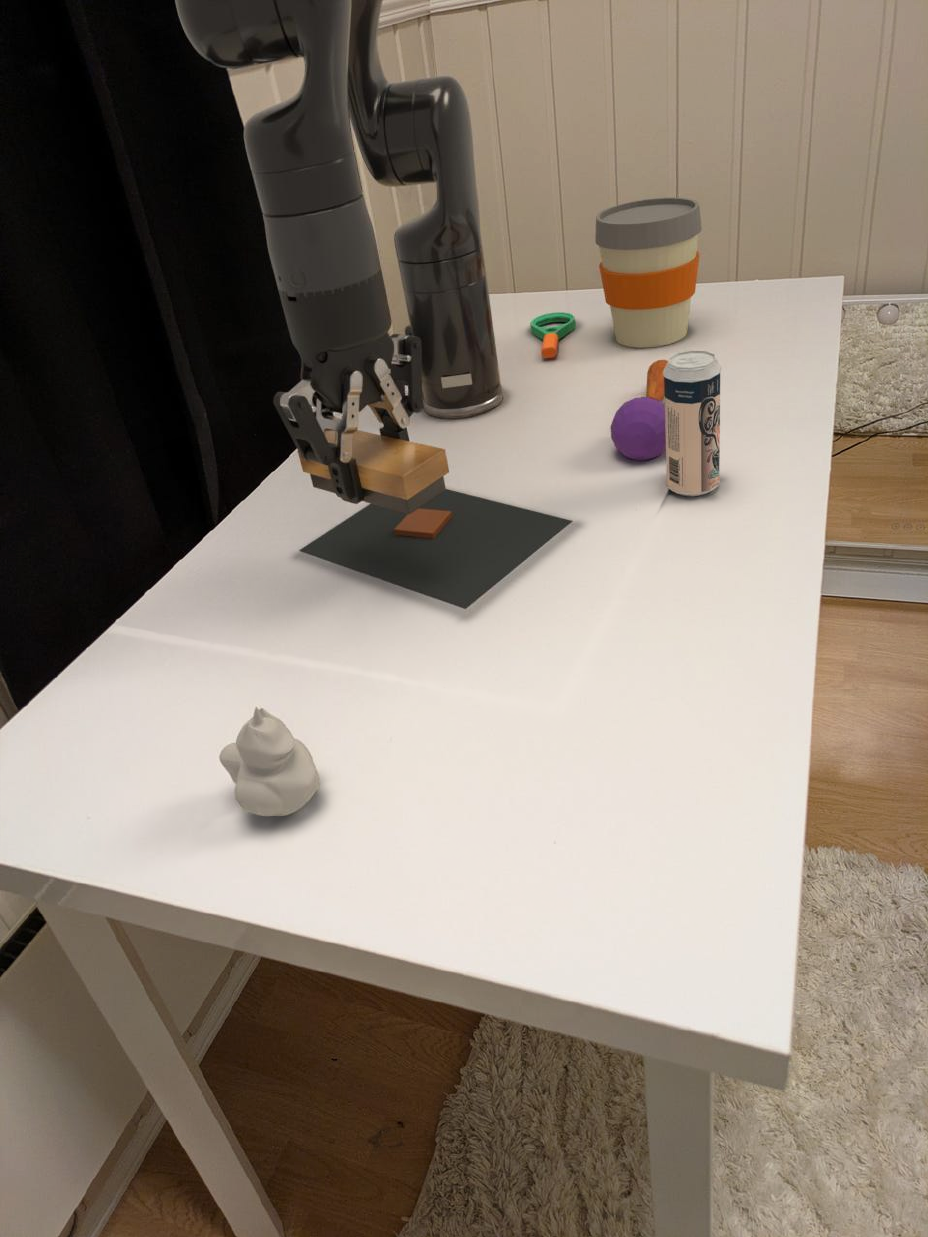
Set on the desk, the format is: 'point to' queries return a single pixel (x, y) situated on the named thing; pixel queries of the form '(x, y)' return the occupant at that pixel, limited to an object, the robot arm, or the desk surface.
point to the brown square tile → (423, 523)
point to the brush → (390, 471)
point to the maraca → (643, 420)
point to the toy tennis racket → (552, 330)
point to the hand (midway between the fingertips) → (376, 484)
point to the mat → (440, 546)
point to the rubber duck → (270, 767)
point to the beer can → (692, 422)
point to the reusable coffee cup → (649, 268)
